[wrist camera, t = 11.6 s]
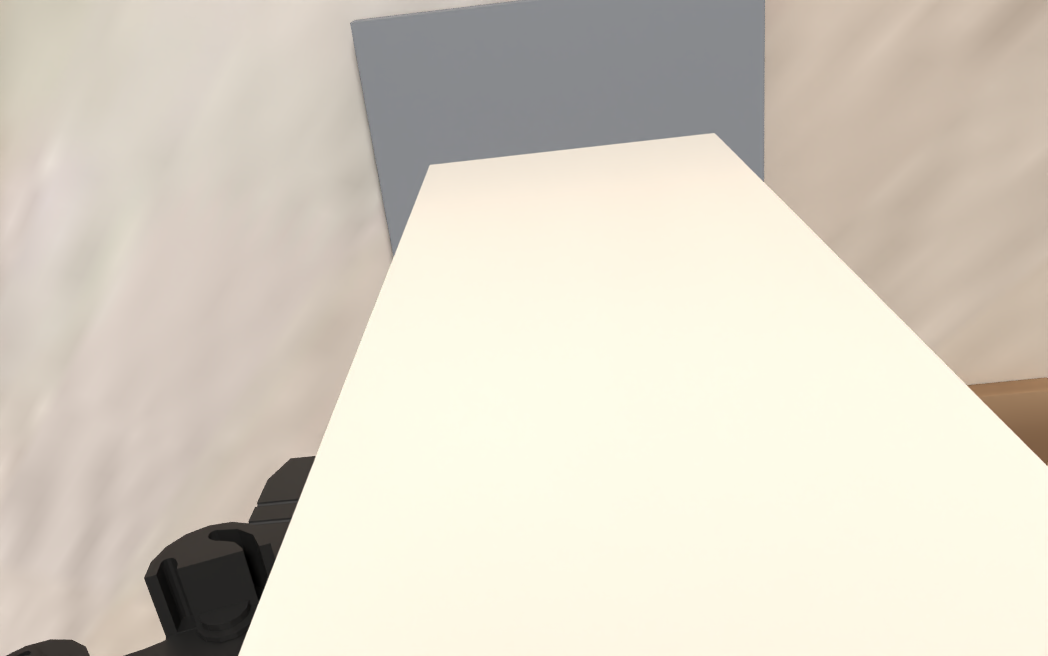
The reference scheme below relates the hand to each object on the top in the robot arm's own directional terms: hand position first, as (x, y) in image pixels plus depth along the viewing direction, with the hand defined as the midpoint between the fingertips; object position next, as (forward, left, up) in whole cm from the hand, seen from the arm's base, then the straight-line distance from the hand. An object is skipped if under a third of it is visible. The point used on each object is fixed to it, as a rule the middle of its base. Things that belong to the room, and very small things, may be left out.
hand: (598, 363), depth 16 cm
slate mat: (0, 0, -11) cm, 11 cm away
